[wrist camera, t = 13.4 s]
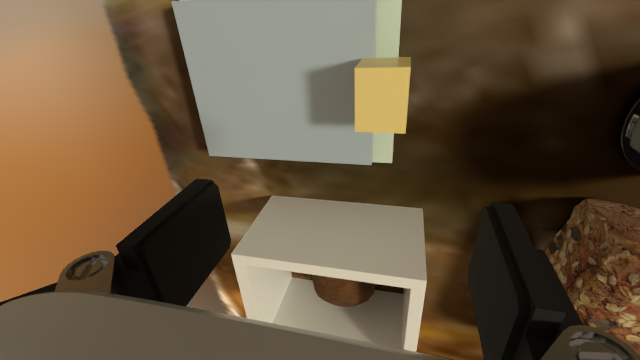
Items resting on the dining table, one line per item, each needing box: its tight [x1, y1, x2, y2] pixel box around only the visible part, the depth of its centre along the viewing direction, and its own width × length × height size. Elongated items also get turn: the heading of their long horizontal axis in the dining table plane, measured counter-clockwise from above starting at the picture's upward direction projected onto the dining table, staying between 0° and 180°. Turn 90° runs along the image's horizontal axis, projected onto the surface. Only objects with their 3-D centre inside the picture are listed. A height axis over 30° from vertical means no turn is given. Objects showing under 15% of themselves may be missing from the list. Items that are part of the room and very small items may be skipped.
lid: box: [172, 0, 411, 165], centre depth 29 cm, size 21×15×7 cm
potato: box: [310, 274, 375, 307], centre depth 39 cm, size 7×10×8 cm
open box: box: [231, 195, 427, 352], centre depth 38 cm, size 18×15×11 cm
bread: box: [544, 198, 640, 355], centre depth 31 cm, size 19×11×10 cm, turn 172°
